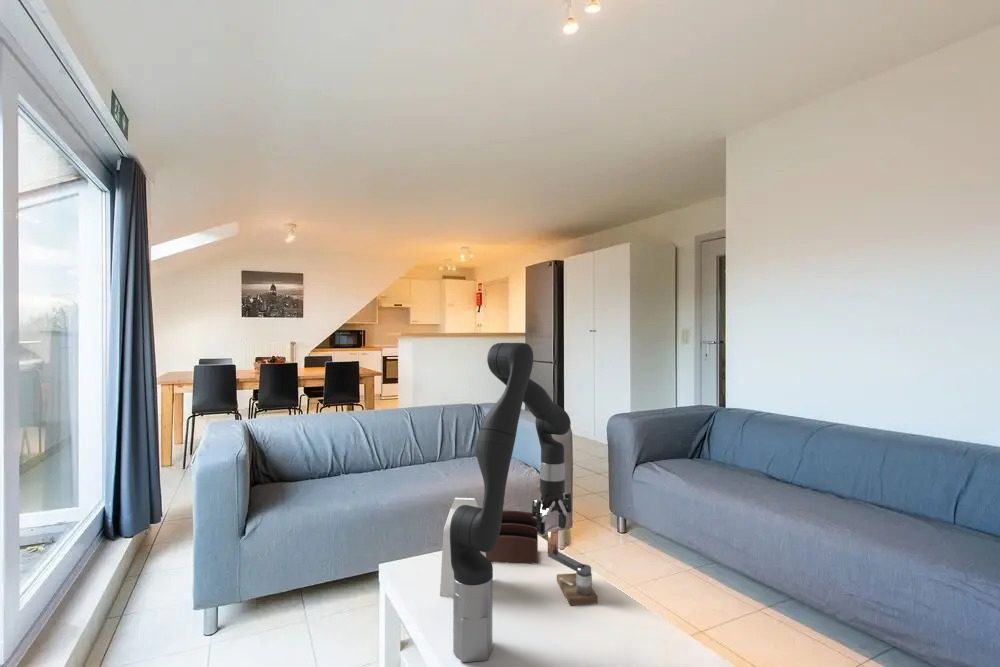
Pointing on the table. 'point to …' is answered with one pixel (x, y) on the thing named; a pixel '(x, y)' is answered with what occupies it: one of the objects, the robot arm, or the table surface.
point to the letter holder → (516, 539)
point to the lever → (563, 559)
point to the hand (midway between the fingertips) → (551, 530)
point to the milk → (446, 567)
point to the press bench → (572, 593)
